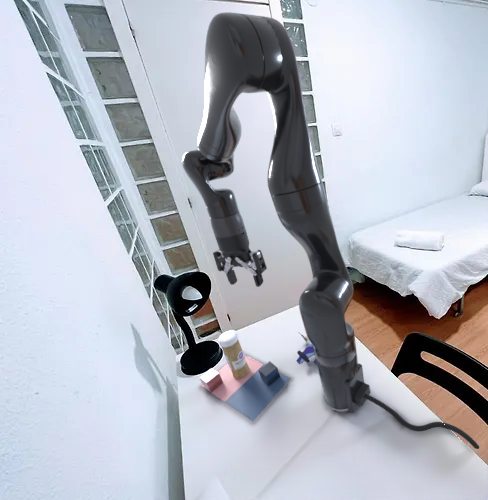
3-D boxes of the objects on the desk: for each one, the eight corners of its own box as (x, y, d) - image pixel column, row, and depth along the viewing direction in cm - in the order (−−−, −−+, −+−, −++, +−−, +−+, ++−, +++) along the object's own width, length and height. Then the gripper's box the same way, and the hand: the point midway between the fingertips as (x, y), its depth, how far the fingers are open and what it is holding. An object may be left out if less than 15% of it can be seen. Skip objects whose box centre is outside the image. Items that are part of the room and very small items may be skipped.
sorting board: (291, 379, 74) (291, 378, 74) (253, 422, 64) (252, 421, 64) (240, 353, 85) (240, 352, 84) (201, 387, 75) (200, 385, 75)
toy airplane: (297, 336, 88) (295, 328, 87) (340, 336, 86) (339, 327, 85) (285, 371, 77) (282, 361, 75) (335, 371, 75) (333, 361, 73)
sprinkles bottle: (246, 378, 75) (232, 341, 69) (230, 380, 75) (214, 342, 69) (252, 365, 79) (238, 328, 73) (236, 366, 79) (222, 329, 74)
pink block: (223, 382, 75) (219, 373, 73) (211, 392, 72) (206, 383, 71) (216, 377, 77) (211, 367, 75) (203, 386, 74) (199, 377, 72)
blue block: (280, 376, 74) (277, 367, 73) (268, 386, 72) (265, 376, 70) (272, 370, 77) (269, 360, 75) (261, 379, 74) (258, 369, 73)
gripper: (197, 236, 70) (217, 289, 77) (244, 236, 66) (261, 293, 73) (217, 225, 76) (234, 275, 83) (261, 225, 72) (275, 278, 79)
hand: (246, 284), depth 78 cm, fingers open, 8 cm apart
